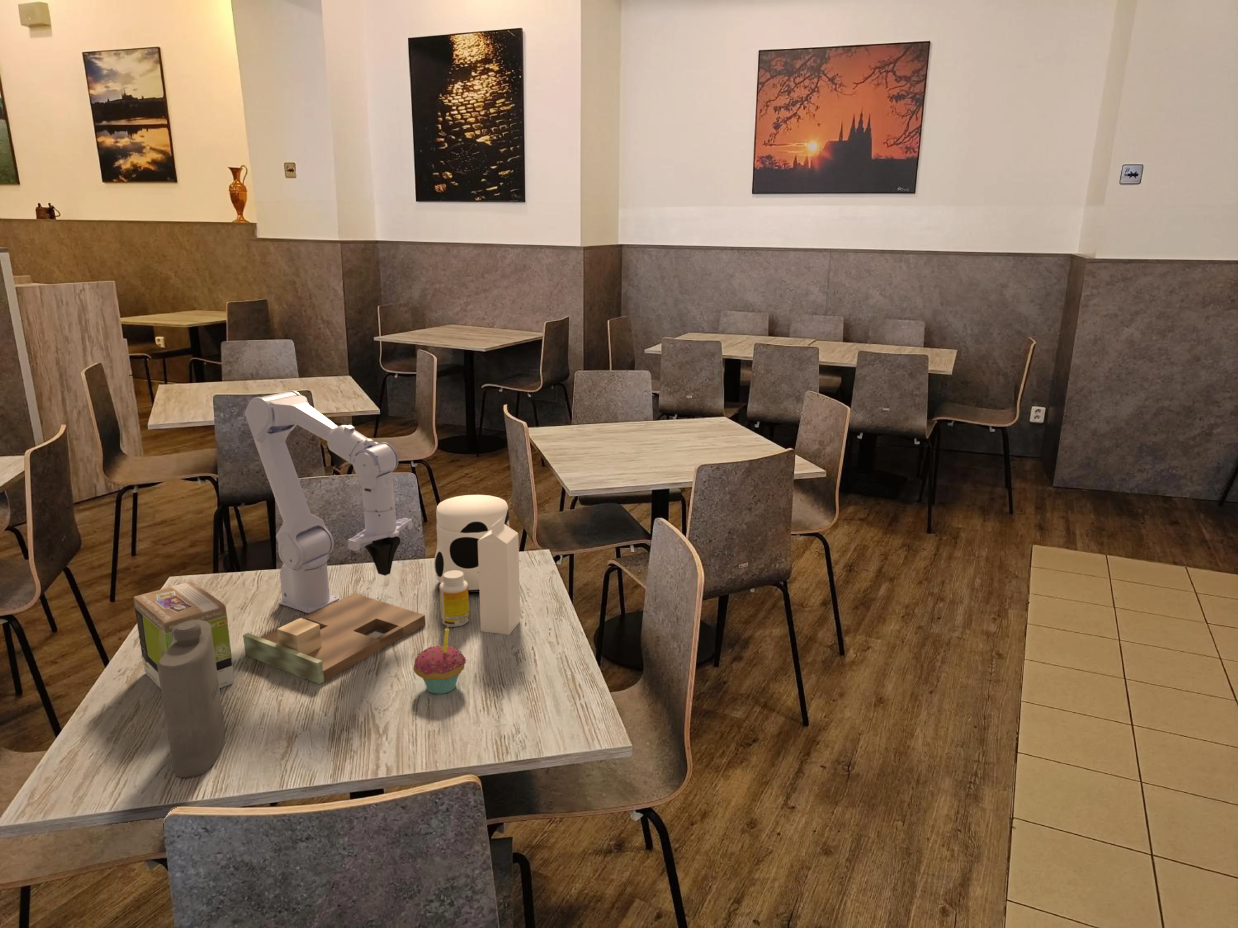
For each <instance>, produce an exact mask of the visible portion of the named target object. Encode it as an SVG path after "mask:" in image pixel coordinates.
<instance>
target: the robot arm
mask: <svg viewBox="0 0 1238 928" xmlns="http://www.w3.org/2000/svg"><path fill="white" fill-rule="evenodd" d="M244 415H245V418H246V421H247V424H248V426H249V430H250V432H251V435H252V437H253V441H254V444H255V447H256V450H257V452H258V455H259V458H260V461H261V463H262V467H263V469H264V472H265V474H266V477H267V481H268V482H269V486H270V488H271V491H272V494H273V497H274V500H275V502H276V504H277V508H278V510H279V513H280V516H281V519H282V522H283V523H282V525H281V527H280V528H279V530H278V531H277V533H276V535H275V538H276V541H277V546H278V548H277V549H278V556H279V559H280V560H281V561H282V563H283V564H282V566H281V568H280V571H279V581H280V590H281V591H280V592H281V598H282V599H281V600H279V601H278V603H279V604H280V605H282V606H286V607H287V608H291V609H295V610H298V611H301V612H303V613H306V614H311V613H313V612H316V611H318V610H320V609H322V608H324V607H326V606H328V605H330V604H333V603H335V602H337V601H339V600H340V597H339V596H336V595H334V594H330V592H331V591H330V586H329V585H330V583H329V571H328V562H327V561H328V560H329V559H330V553H331V552H332V551H333V550H334V547H335V542H334V537H333V534H332V533H331V532H330V530H328V527H327V526H326V524H325V522H324V519H322V518H321V517H318V516H316V515H314V514H312V513H311V510H310V508H309V505H308V501H307V500H306V497H305V494H304V491H303V487H302V485H301V483H300V482H301V481H300V478H299V476H298V473H297V471H296V468H295V465H294V463H293V460H292V457H291V454H290V452H289V451H290V450H289V449H288V446H287V443H286V440H287V438H288V436H289V434H290V432H292V431H293V430H294V428H296V427H297V426H299V427H301V428H302V429H304V430H306V431H308V432H310V433H311V434H314V435H315V436H317V437H319V438H321V439H322V440H324V441H326V442H327V448H328V450H329V451H331V453H334V454H335V455H337V456H338V457H340V458H341V459H343V460H345V461H346V462H348V463H349V464H350V465H352V467H353V471H354V472H355V474H356V476H357V478H358V482H359V485H360V487H361V490H362V504H363V516H364V529H362V531H360V532H359V533H357V534H356V535H355V536H353V537H351V538H348V539H347V547H348V550H351V551H354V552H357V551H360V550H361V548H363V547H364V548H365V550H367V552H368V553H369V555H370V556H371V558H372V560H373V563H374V565H375V568H376V571H377V574H378V575H381V576H387V575H390V574H391V571H392V566H393V561H394V558H395V554H396V552H397V549H398V547H399V545H400V544H401V538H400V536H399V535H400V532H402V531H403V532H404V531H406V530H408V531H409V530H411V529H413V520H412V519H411V518H408V517H403V518H399V519H396V517H397V516H396V503H395V491H394V490H395V489H394V486H395V485H394V472H393V471H395V470H396V469H397V467H399V466H398V465H399V456H398V453H397V451H396V449H395V448H394V447H393V446H392V445H391V444H390V443H389V442H386V441H384V442H383V441H382V442H377V441H374V440H373V439H372V438H368V437H367V436H365V435H363V434H362V433H360V432H359V431H357V430H356V427H355V426H353V425H352V424H348V425H347V424H341V425H337V424H335V422H333V421H332V420H331V419H329V418H328V417H326V416H325V415H324V414H322V413H320V412H319V411H318V410H316V409H315V407H313V406H312V405H310V404H309V401H308V398H307V397H306V396H305V395H302V394H301V393H299V392H298V391H296V390H294V389H293V390H292V389H289V390H286V391H284V392H279V393H275V394H269V395H264V396H261V397H260V396H255V397H253V398H251V399H250V400H249V402H248V404H247V407H246V409H245V411H244Z"/></svg>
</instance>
